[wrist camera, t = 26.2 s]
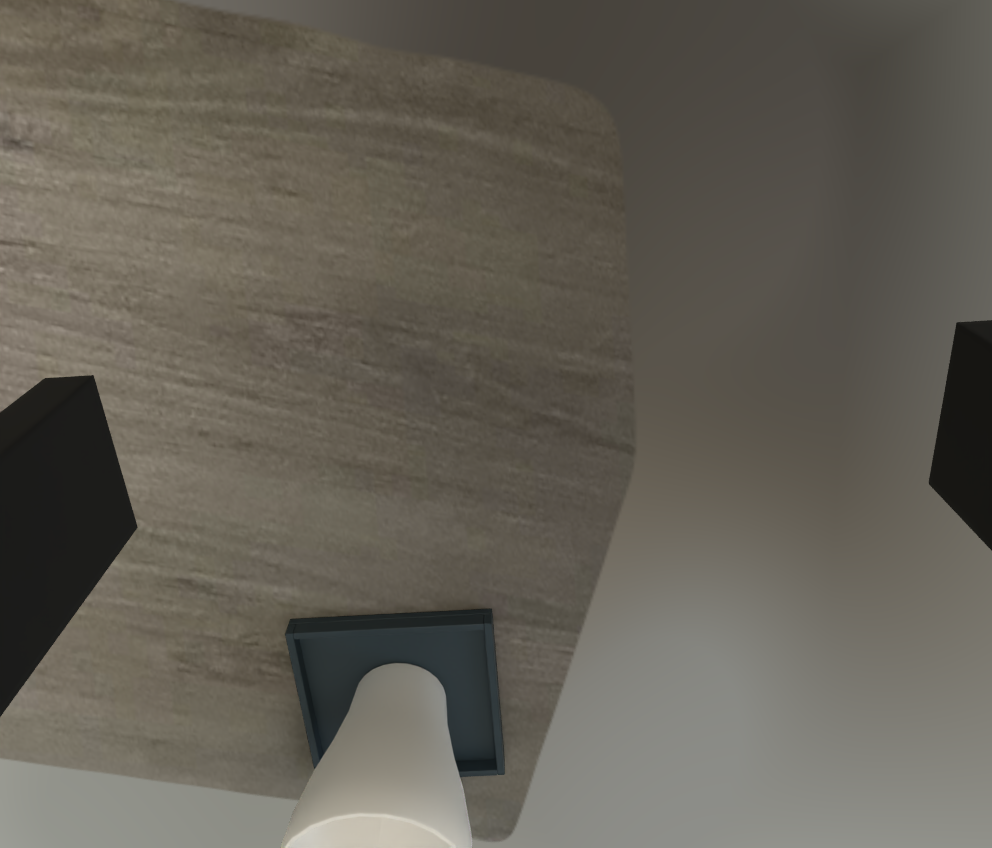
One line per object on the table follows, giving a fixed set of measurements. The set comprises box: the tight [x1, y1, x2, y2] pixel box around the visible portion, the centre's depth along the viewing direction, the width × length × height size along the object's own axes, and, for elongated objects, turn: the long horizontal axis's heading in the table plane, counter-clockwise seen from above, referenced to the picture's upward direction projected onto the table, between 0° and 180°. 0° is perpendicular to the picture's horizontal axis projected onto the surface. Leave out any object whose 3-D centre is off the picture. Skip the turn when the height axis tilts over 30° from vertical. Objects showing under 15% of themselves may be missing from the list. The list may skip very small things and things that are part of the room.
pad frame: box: [285, 609, 505, 777], centre depth 56 cm, size 13×13×2 cm
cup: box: [280, 663, 472, 848], centre depth 50 cm, size 10×10×14 cm
